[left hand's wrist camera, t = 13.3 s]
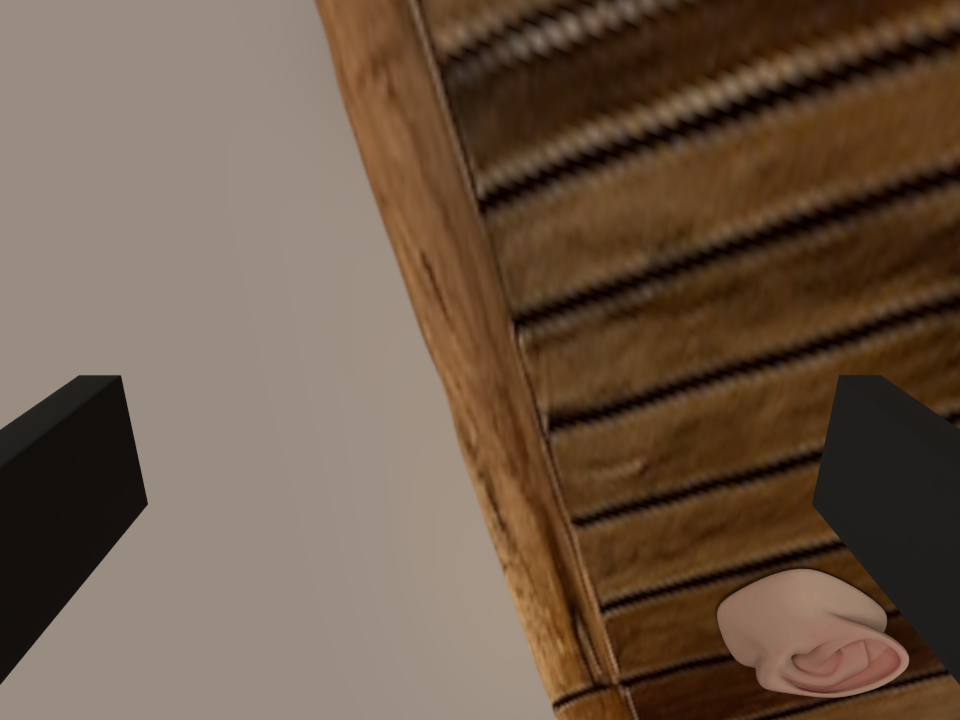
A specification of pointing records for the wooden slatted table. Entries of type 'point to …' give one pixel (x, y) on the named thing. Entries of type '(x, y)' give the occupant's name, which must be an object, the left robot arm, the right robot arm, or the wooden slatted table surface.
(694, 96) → the wooden slatted table surface
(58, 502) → the left robot arm
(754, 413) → the wooden slatted table surface
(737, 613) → the anatomical model
